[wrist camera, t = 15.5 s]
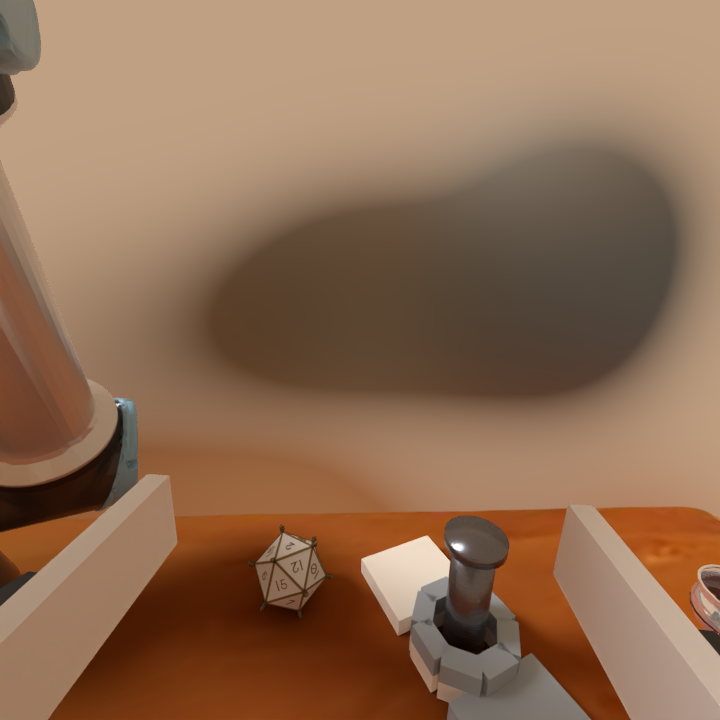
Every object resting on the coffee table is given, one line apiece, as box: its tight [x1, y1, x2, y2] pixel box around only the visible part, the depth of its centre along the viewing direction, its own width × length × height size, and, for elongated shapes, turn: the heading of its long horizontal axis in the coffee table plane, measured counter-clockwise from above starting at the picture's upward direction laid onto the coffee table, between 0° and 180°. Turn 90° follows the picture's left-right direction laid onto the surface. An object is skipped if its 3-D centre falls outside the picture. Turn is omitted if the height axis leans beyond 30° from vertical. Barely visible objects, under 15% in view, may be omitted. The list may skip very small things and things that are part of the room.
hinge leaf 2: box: [410, 576, 591, 720], centre depth 33 cm, size 18×10×4 cm, turn 26°
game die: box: [247, 524, 334, 619], centre depth 41 cm, size 9×8×10 cm
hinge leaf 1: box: [361, 536, 495, 703], centre depth 40 cm, size 18×10×2 cm, turn 26°
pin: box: [442, 516, 509, 655], centre depth 35 cm, size 6×6×14 cm
